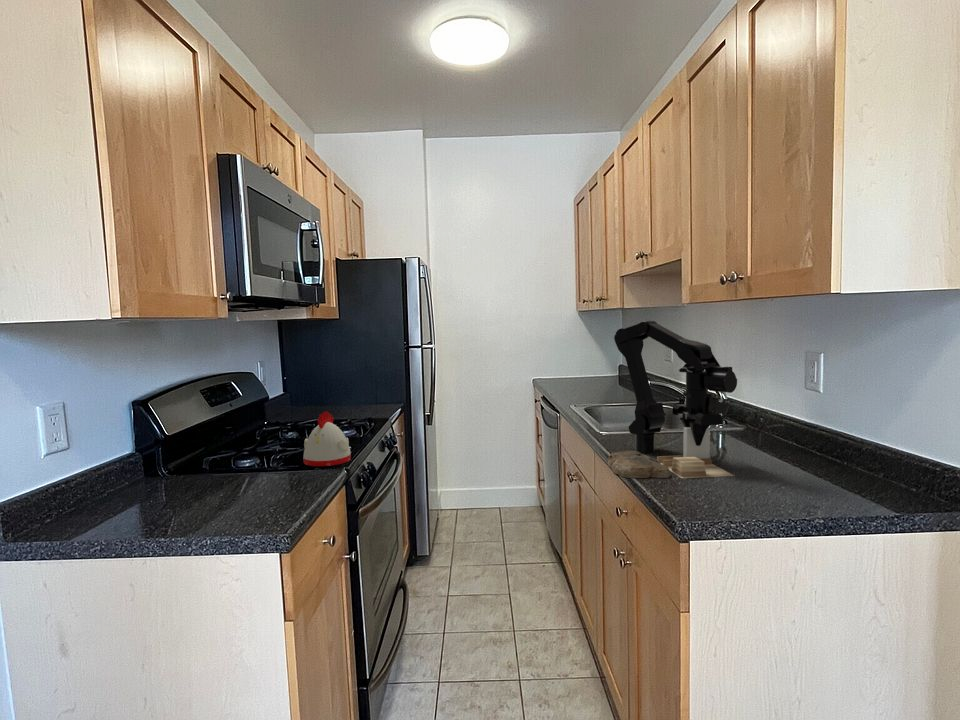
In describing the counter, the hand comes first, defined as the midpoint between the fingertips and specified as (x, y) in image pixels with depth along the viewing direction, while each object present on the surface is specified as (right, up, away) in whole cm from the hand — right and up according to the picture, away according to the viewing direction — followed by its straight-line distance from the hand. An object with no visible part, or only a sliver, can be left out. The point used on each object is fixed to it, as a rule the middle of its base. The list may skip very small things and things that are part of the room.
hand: (696, 444), depth 152 cm
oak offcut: (-6, -5, -10) cm, 13 cm away
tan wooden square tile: (-6, -6, -10) cm, 13 cm away
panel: (0, -4, 0) cm, 4 cm away
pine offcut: (-6, -3, -10) cm, 12 cm away
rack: (-3, -6, -5) cm, 9 cm away
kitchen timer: (-107, -7, +15) cm, 108 cm away
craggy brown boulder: (-18, -7, -4) cm, 20 cm away
